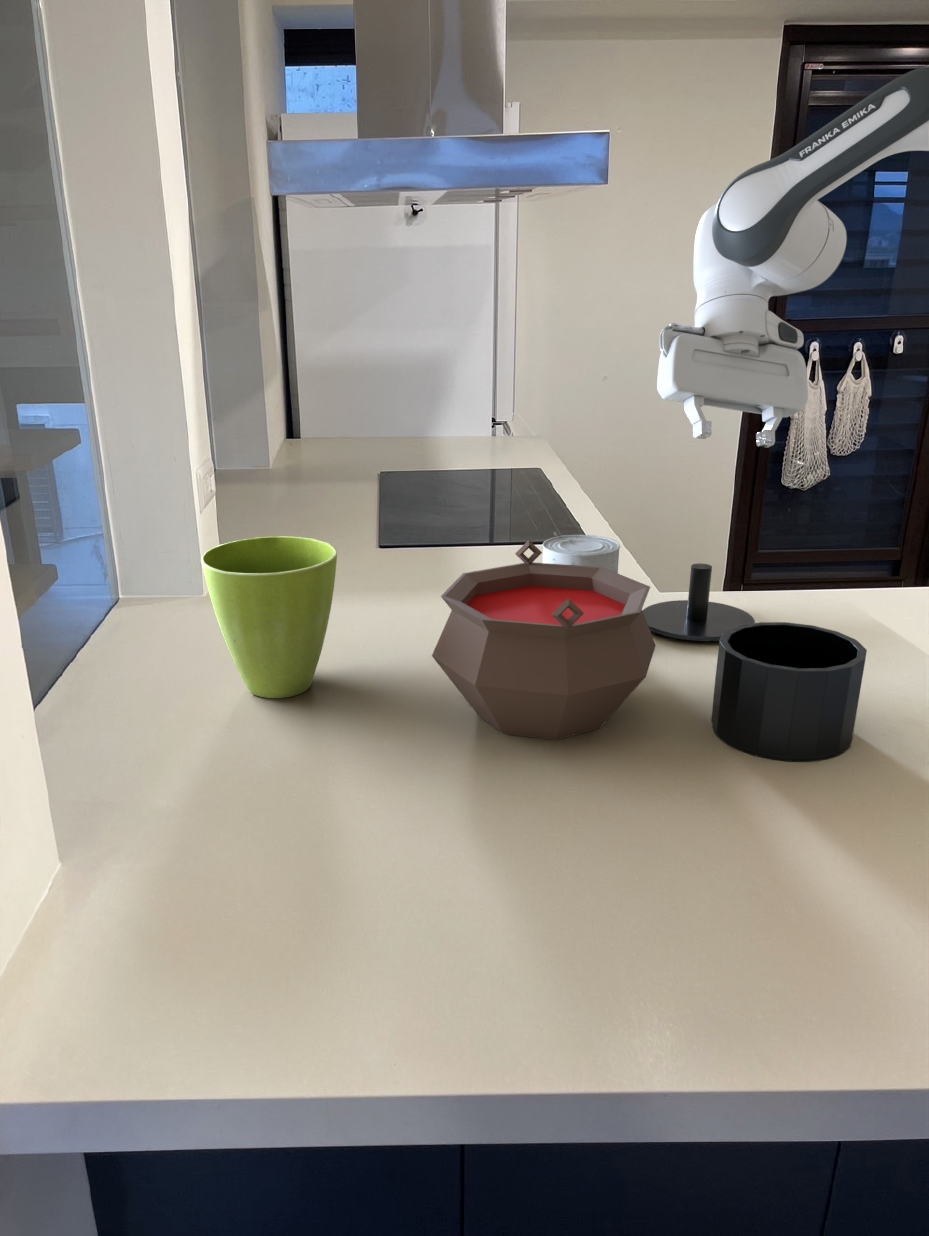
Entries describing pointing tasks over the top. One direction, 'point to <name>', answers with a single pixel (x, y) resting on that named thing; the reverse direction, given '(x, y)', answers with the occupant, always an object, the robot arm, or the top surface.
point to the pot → (787, 690)
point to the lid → (695, 612)
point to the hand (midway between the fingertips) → (734, 441)
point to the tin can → (582, 551)
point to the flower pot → (273, 608)
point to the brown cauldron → (545, 645)
